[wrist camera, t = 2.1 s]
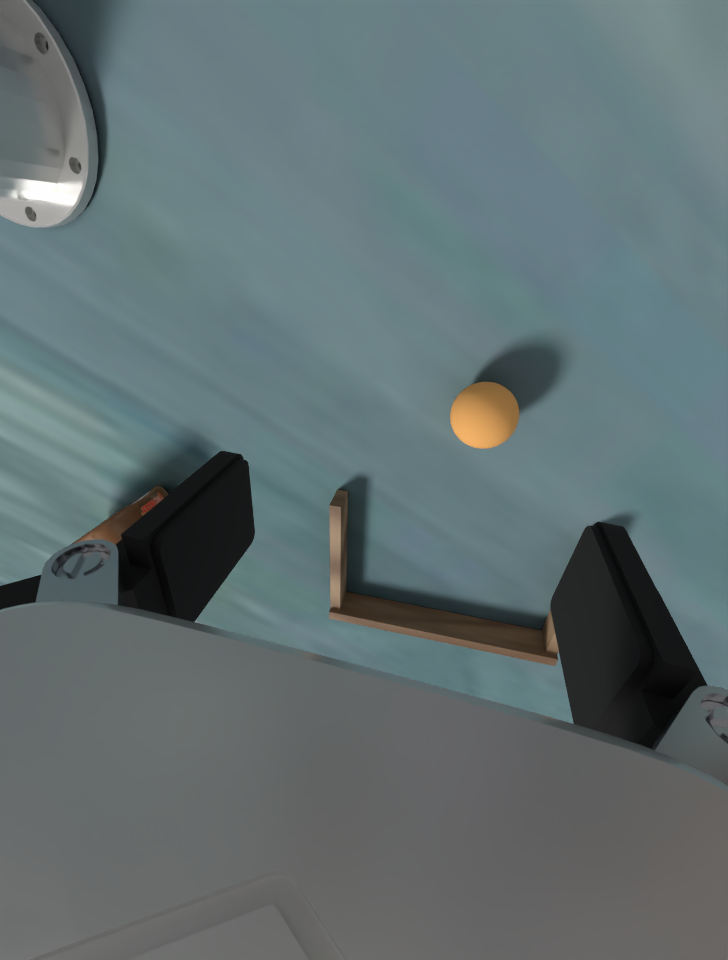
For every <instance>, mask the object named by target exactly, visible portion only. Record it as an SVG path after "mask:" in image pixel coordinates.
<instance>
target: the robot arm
mask: <svg viewBox="0 0 728 960" xmlns="http://www.w3.org/2000/svg"><path fill="white" fill-rule="evenodd" d="M97 170H98V140H97V132H96V127H95V121H94V116H93V111H92V108H91V104H90V101H89V98H88V95H87V91H86V88H85V85H84V83H83V80H82V78H81V76H80V73H79V71H78V69H77V66H76V64H75V62H74V59H73V57H72V56H71V54H70V52H69V50H68V49H67V47H66V45H65V43H64V42H63V40H62V38H61V36H60V35H59V33H58V32H57V30H56V29H55V27H54V26H53V25H52V23H51V22H50V21H49V19H48V18H47V17H46V15H45V14H44V13H43V11H42V10H41V9H40V8H39V7H38V6H37V5H36V4H35V2H34V1H33V0H0V215H1V216H2V217H4V218H7V219H9V220H11V221H13V222H15V223H18V224H21V225H25V226H30V227H40V228H52V227H58V226H63V225H65V224H67V223H69V222H71V221H73V220H75V219H76V218H77V217H78V216H79V215H80V214H81V213H82V212H83V211H84V209H85V208H86V206H87V204H88V202H89V200H90V199H91V197H92V193H93V190H94V187H95V183H96V179H97ZM254 534H255V529H254V518H253V507H252V497H251V486H250V476H249V465H248V462H247V461H246V460H244V459H243V457H242V455H241V454H236V453H231V452H226V451H220V452H219V453H217V454H216V455H215V456H214V457H213V458H211V459H210V460H209V461H208V462H207V463H205V464H204V465H203V466H202V467H201V468H200V469H198V470H197V471H196V472H195V473H194V474H192V475H191V476H190V477H189V478H188V479H186V480H185V481H184V482H183V483H182V484H180V485H179V486H178V487H177V488H176V489H174V490H173V491H172V492H171V493H170V494H169V495H167V496H166V497H165V498H164V499H163V500H161V501H160V502H159V503H158V504H157V505H155V506H154V507H153V508H152V509H151V510H149V511H148V512H147V513H146V514H145V515H143V516H142V517H141V518H140V519H139V520H137V521H136V522H135V523H134V524H133V525H132V526H130V527H129V528H128V529H127V530H126V531H124V532H123V533H122V534H121V537H122V540H121V541H119V542H118V543H117V544H116V545H115V544H113V543H112V542H110V541H107V540H100V539H93V540H85V541H81V542H77V543H74V544H71V545H69V546H67V547H65V548H63V549H61V550H60V551H58V552H57V553H55V554H54V555H52V556H51V557H50V559H49V560H48V561H47V562H46V563H45V566H44V568H43V570H42V575H39V576H35V577H31V578H28V579H24V580H21V581H17V582H13V583H10V584H6V585H2V586H0V960H728V690H727V689H724V688H721V687H716V686H710V685H707V684H706V682H705V680H704V678H703V676H702V674H701V672H700V670H699V668H698V666H697V664H696V663H695V661H694V659H693V657H692V655H691V653H690V651H689V649H688V647H687V645H686V643H685V641H684V640H683V638H682V636H681V634H680V632H679V630H678V628H677V626H676V624H675V622H674V620H673V618H672V617H671V615H670V613H669V611H668V609H667V607H666V605H665V603H664V601H663V599H662V597H661V595H660V594H659V592H658V591H657V589H656V587H655V585H654V583H653V581H652V579H651V578H650V576H649V574H648V572H647V570H646V568H645V566H644V564H643V562H642V560H641V558H640V556H639V554H638V553H637V551H636V549H635V547H634V545H633V543H632V541H631V539H630V537H629V535H628V533H627V531H626V530H625V528H624V527H622V526H618V525H612V524H607V523H602V522H597V523H595V524H594V525H593V526H587V527H586V528H585V530H584V532H583V534H582V536H581V538H580V540H579V542H578V544H577V546H576V548H575V550H574V553H573V555H572V557H571V559H570V561H569V563H568V565H567V567H566V569H565V571H564V574H563V576H562V578H561V580H560V582H559V584H558V586H557V588H556V590H555V592H554V595H553V597H552V600H551V615H552V620H553V625H554V630H555V634H556V639H557V644H558V649H559V654H560V659H561V664H562V668H563V673H564V678H565V683H566V688H567V693H568V698H569V702H570V707H571V712H572V717H573V722H574V724H572V723H568V722H565V721H561V720H558V719H554V718H551V717H547V716H544V715H540V714H537V713H533V712H530V711H526V710H523V709H519V708H515V707H512V706H508V705H504V704H501V703H497V702H493V701H490V700H486V699H482V698H479V697H475V696H471V695H468V694H464V693H460V692H456V691H453V690H449V689H445V688H442V687H438V686H434V685H431V684H427V683H423V682H420V681H416V680H412V679H408V678H405V677H401V676H397V675H393V674H390V673H386V672H382V671H378V670H375V669H371V668H367V667H363V666H360V665H356V664H352V663H348V662H345V661H341V660H337V659H333V658H330V657H326V656H322V655H318V654H314V653H311V652H307V651H303V650H299V649H296V648H292V647H288V646H284V645H280V644H276V643H273V642H269V641H265V640H261V639H257V638H253V637H249V636H246V635H242V634H238V633H234V632H230V631H226V630H223V629H219V628H215V627H211V626H207V625H203V624H199V623H195V622H194V621H195V620H196V619H197V617H198V616H199V615H200V613H201V612H202V611H203V609H204V608H205V606H206V605H207V604H208V602H209V601H210V600H211V598H212V597H213V595H214V594H215V593H216V591H217V590H218V589H219V587H220V586H221V584H222V583H223V582H224V580H225V579H226V578H227V576H228V575H229V574H230V572H231V571H232V569H233V568H234V567H235V565H236V564H237V563H238V561H239V560H240V558H241V557H242V556H243V554H244V553H245V552H246V550H247V549H248V547H249V546H250V545H251V543H252V541H253V539H254Z"/></svg>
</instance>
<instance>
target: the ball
mask: <svg viewBox="0 0 728 960" xmlns="http://www.w3.org/2000/svg"><path fill="white" fill-rule="evenodd" d="M450 419H451V425H452V428H453V430H454V432H455V434H456V435H457V437H458V438H459V439H460V440H461V441H463V442H464V443H465V444H467V445H469V446H472V447H475V448H491V447H495V446H497V445H499V444H501V443H503V442H504V441H506V440H507V439H508V438H509V437H510V436H511V435H512V433H513V432H514V431H515V429H516V427H517V424H518V420H519V407H518V403H517V401H516V399H515V397H514V395H513V394H512V393H511V392H510V391H509V390H508V389H507V388H505V387H504V386H502V385H500V384H498V383H494V382H479V383H475V384H472V385H470V386H468V387H467V388H465V389H464V390H463V391H462V392H461V393H460V394H459V395H458V396H457V397H456V399H455V401H454V402H453V405H452V408H451V414H450Z"/></svg>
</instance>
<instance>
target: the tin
mask: <svg viewBox="0 0 728 960" xmlns="http://www.w3.org/2000/svg"><path fill="white" fill-rule="evenodd" d="M167 495H169V494H168V493H167V492H166V491H165V490H164V488H162V487H161V486H155V487H154V488H153V489H152V490H150V491H149V492H147V493H146V494H145V495H143V496H142V497H140V498H139V499H137V500H136V501H134V502H133V503H132V504H130V505H129V506H127V507H125V508H123V509H122V510H120V511H119V512H117V513H116V514H114V515H113V516H111V517H110V518H108V519H107V520H105V521H104V522H103V523H101V524H100V525H98V526H97V527H95V528H94V529H92V530H91V531H90V532H88V533H87V534H85V535H84V536H82V537H81V538H80V539H78V540H77V541H75V542H74V543H77V542H81V541H85V540H93V539H100V540H107V541H110V542H112V543H113V544H115V545H116V544H117V543H118V542H119V541H121V540H122V537H121V534H122V533H123V532H124V531H126V530H127V529H128V528H129V527H130V526H132V525H133V524H134V523H135V522H136V521H137V520H139V519H140V518H141V517H142V516H143V515H145V514H146V513H147V512H148V511H149V510H151V509H152V508H153V507H154V506H155V505H157V504H158V503H159V502H160V501H161V500H163V499H164V498H165V497H166V496H167ZM74 543H72V544H74Z"/></svg>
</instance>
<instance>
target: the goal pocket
mask: <svg viewBox="0 0 728 960" xmlns="http://www.w3.org/2000/svg"><path fill="white" fill-rule="evenodd" d="M347 529H348V491H344V490H337V492H336V493H335V495H334V497H333V499H332V501H331V503H330V592H331V609H330V611H329V618H330V619H335V620H339V621H344V622H349V623H354V624H358V625H363V626H368V627H373V628H377V629H382V630H387V631H391V632H396V633H401V634H406V635H410V636H415V637H420V638H425V639H429V640H434V641H439V642H444V643H448V644H453V645H458V646H463V647H467V648H472V649H477V650H481V651H486V652H491V653H496V654H500V655H505V656H510V657H515V658H519V659H524V660H529V661H534V662H538V663H543V664H548V665H553V666H555V664H556V662H557V660H558V658H557V654H558V651H559V649H558V644H557V639H556V634H555V630H554V625H553V620H552V615H551V609H550V612H549V614H548V617H547V619H546V621H545V624H544V626H543V628H542V630H537V629H532V628H527V627H522V626H517V625H512V624H507V623H502V622H497V621H492V620H486V619H481V618H476V617H471V616H466V615H461V614H456V613H451V612H446V611H441V610H436V609H431V608H426V607H421V606H416V605H411V604H406V603H401V602H396V601H391V600H386V599H381V598H375V597H370V596H365V595H360V594H355V593H350V592H346V580H347Z"/></svg>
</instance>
